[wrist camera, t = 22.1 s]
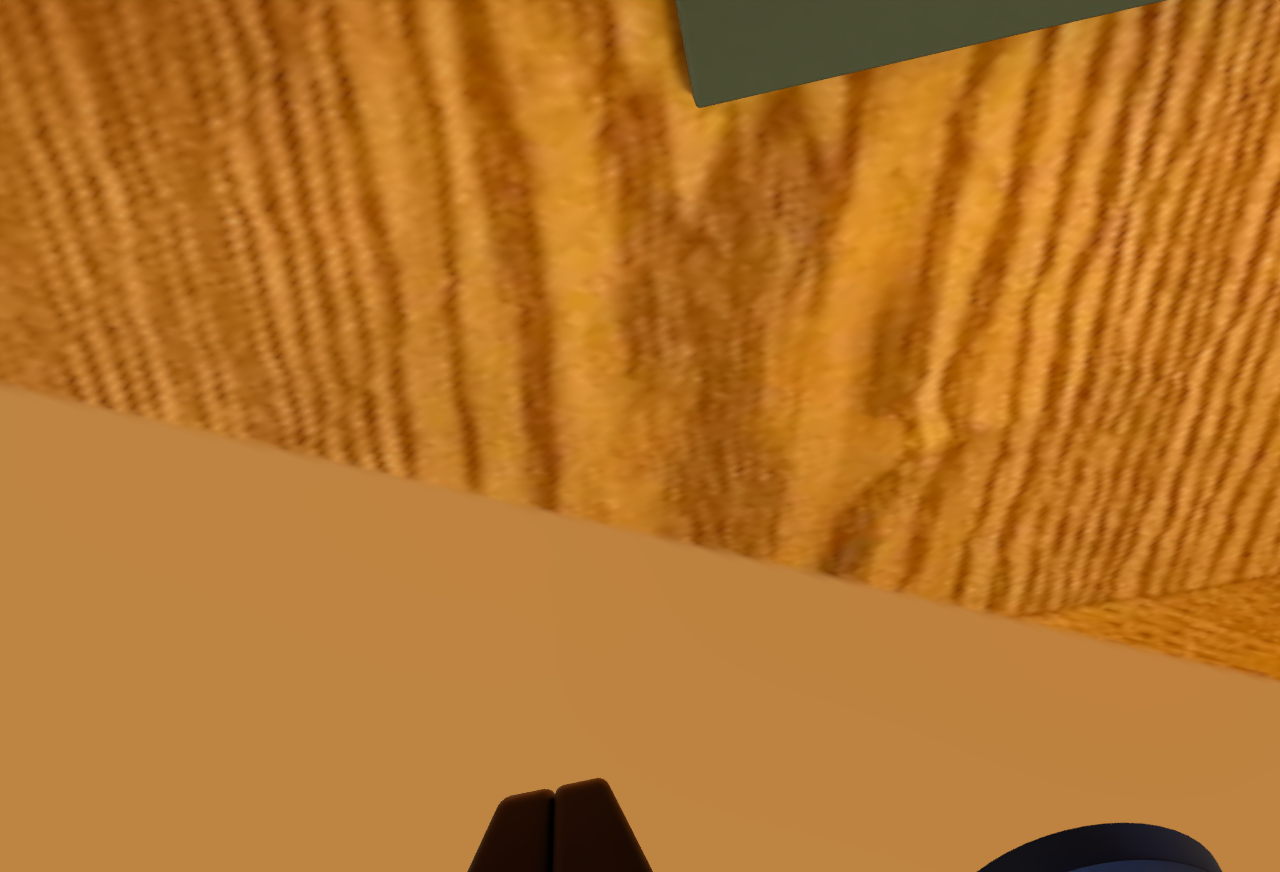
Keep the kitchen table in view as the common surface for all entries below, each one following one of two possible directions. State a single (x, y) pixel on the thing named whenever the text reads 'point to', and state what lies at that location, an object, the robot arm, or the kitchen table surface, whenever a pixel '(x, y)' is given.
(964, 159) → the kitchen table surface
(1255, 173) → the kitchen table surface
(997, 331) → the kitchen table surface
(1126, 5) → the mat
